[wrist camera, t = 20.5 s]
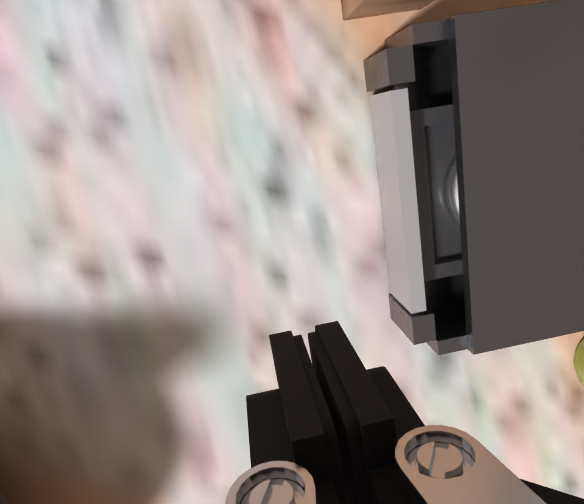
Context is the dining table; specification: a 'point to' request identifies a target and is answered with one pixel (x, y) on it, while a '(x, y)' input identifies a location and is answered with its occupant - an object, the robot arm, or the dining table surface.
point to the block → (378, 7)
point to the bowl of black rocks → (3, 500)
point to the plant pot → (580, 361)
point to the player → (502, 170)
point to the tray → (415, 194)
